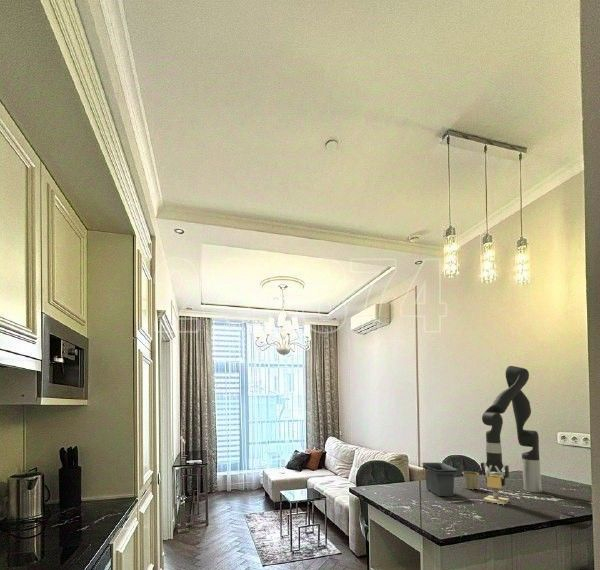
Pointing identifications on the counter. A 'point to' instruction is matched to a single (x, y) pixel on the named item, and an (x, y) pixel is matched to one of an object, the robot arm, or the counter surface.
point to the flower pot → (471, 479)
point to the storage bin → (439, 478)
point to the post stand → (496, 498)
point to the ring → (494, 481)
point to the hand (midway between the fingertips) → (495, 485)
